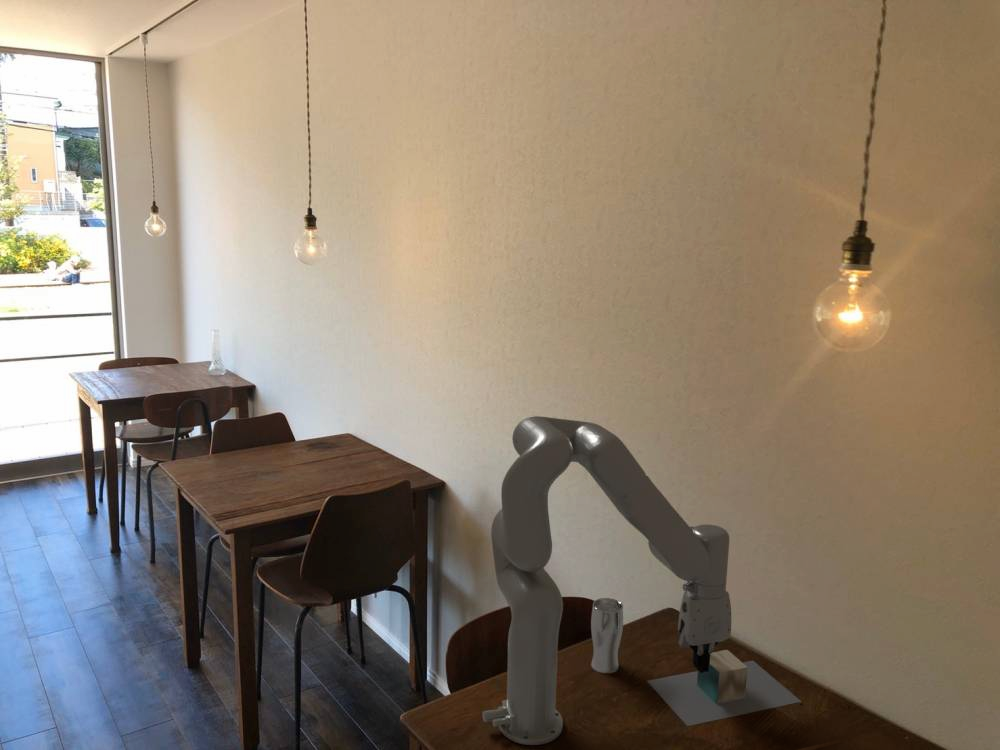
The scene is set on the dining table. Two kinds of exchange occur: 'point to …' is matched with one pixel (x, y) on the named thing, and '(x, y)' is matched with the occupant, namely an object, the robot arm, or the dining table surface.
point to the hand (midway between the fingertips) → (700, 668)
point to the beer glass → (606, 634)
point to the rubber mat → (702, 709)
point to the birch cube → (723, 678)
